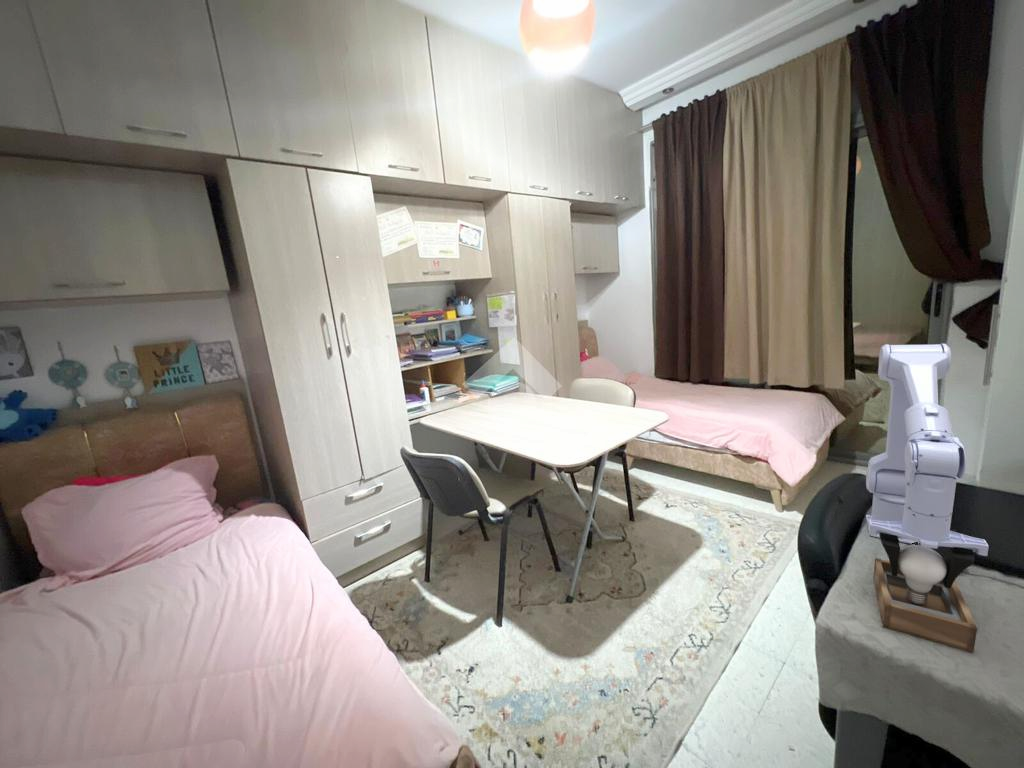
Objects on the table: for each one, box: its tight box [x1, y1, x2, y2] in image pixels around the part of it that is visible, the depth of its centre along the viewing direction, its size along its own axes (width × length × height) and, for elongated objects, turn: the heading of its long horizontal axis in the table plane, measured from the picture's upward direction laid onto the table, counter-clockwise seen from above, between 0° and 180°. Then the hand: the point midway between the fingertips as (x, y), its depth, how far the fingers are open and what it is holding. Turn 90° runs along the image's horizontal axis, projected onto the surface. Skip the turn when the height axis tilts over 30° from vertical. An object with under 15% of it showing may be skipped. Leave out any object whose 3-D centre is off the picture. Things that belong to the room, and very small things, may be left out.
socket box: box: [872, 557, 978, 654], centre depth 73 cm, size 14×11×4 cm
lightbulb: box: [898, 544, 947, 605], centre depth 73 cm, size 6×6×11 cm
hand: (919, 578), depth 73 cm, fingers closed on lightbulb, 6 cm apart
